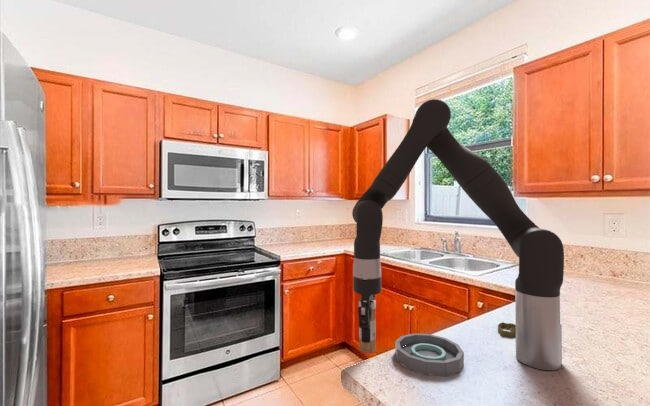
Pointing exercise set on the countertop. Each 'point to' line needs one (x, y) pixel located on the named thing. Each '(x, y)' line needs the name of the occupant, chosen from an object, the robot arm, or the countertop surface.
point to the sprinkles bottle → (371, 345)
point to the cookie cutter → (508, 326)
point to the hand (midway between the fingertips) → (367, 337)
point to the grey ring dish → (429, 354)
